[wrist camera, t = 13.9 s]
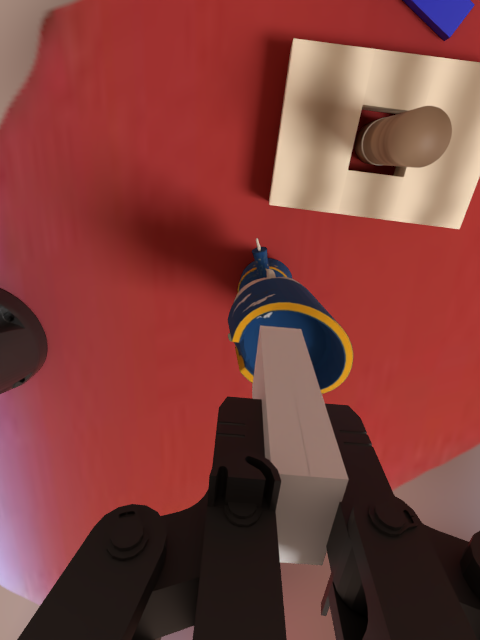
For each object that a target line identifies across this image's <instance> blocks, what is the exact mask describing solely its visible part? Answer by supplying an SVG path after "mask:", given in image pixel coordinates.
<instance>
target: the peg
mask: <svg viewBox="0 0 480 640" xmlns="http://www.w3.org/2000/svg"><path fill="white" fill-rule="evenodd" d="M451 136H452V125H451V121H450V118H449V117H448V115H447V114H446V113H445V112H444V111H443V110H442V109H440V108H438V107H435V106H423V107H420V108H416V109H413V110H410V111H406V112H403V113H400V114H396V115H393V116H390V117H385V118H381V119H378V120H376V121H373V122H370V123H368V124H366V125H365V126H364V127H363V128H362V129H361V130H360V131H359V133H358V134H357V137H356V140H355V152H356V155H357V156H358V158H359V159H360V160H361V161H362V162H364V163H367V164H374V165H388V166H401V167H413V168H420V167H425V166H428V165H430V164H432V163H434V162H435V161H437V160H438V159H439V158H440V157H441V156H442V155H443V154H444V152H445V151H446V149H447V147H448V145H449V143H450V140H451Z"/></svg>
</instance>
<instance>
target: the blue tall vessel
mask: <svg viewBox="0 0 480 640" xmlns="http://www.w3.org/2000/svg"><path fill="white" fill-rule="evenodd" d="M256 242H257V248H255V249H253V250H252V253H253V256H254V259H255V261H253V262H252V263H250V264H249V265H248V266H247V267H246V268H245V269H244V271H243V273H242V275H241V278H240V281H239V285H238V294H237V296H236V298H235V300H234V303H233V305H232V307H231V310H230V313H229V317H228V324H229V329H230V333H229V334H228V339H229V340H230V341H232V342H234V344H235V345H236V347H235V349H236V354H237V359H238V364H239V369H240V372H241V373H242V375H243V376H244V377H245V378H247V379H248V380H249V381H250V382H251V383H253V378H254V370H255V362H256V354H257V346H258V338H259V330H260V325H261V326H272V327H283V328H295V329H301V330H302V333H303V337H304V340H305V343H306V346H307V349H308V352H309V356H310V359H311V362H312V365H313V368H314V371H315V375H316V378H317V381H318V384H319V387H320V390H321V394H324V393H326V392H329V391H331V390H333V389H335V388H337V387H338V386H339V385H340V384H342V383H343V382H344V381H345V379H346V378H347V376H348V375H349V373H350V371H351V368H352V364H353V349H352V344H351V342H350V340H349V337H348V335H347V334H346V333H345V331H344V330H343V328H342V327H341V326H340V325H339V324H338V323H337V322H336V321H335V319H334V318H333V317H332V316H331V315H330V314H329V313H328V312H327V311H326V309H325V308H324V307H323V306H322V305H321V304H320V303H319V302H318V301H317V300H316V298H315V297H314V296H313V295H312V294H311V293H310V292H309V291H308V290H307V289H306V288H305V287H304V286H302V285H301V284H300V283H299V282H297V281H295V280H294V279H292V275H291V273H290V271H289V269H288V268H287V267H286V266H285V265H284V264H283V263H282V262H280V261H278V260H275V259H271V258H267V248H266V247H261V246H260V244H259V241H258V238H256Z"/></svg>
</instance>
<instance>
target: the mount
mask: <svg viewBox="0 0 480 640" xmlns="http://www.w3.org/2000/svg"><path fill="white" fill-rule="evenodd" d="M403 1H404V2H405V3H406V4H407V5H408V6H409V7H410V8H411V9H412V10H413V11H414V12H415V13H416V14H417V15H418V16H419V17H420V18H421V19H422V20H423V21H424V22H425V23H426V24H427V25H428V26H429V27H430V28H431V29H432V30H433V31H434V32H435V33H436V34H437V35H438V36H440V37H441V38H442V39H443V40H444V41H445V40H447V39H448V38H450V37H451V35H452V34H453V33H454V31H455V30H456V29H457V27H458V26H459V25H460V24H461V22H462V21H463V20H464V18H465V17H466V16H467V14H468V13H469V12H470V10H471V9H472V8H473V6H474V4H473V3H472V2H471V1H470V0H403Z"/></svg>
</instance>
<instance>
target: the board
mask: <svg viewBox="0 0 480 640" xmlns="http://www.w3.org/2000/svg"><path fill="white" fill-rule="evenodd" d="M423 106H435V107H438V108H440V109H442V110H443V111H444V112H445V113H446V114H447V115H448V117H449V118H450V121H451V125H452V136H451V140H450V143H449V145H448V147H447V149H446V151H445V152H444V154H443V155H442V156H441V157H440V158H439V159H438V160H437V161H435V162H434V163H432V164H430V165H428V166H425V167H420V168H413V167H401V166H396V168H395V172H394V175H393V176H391V175H384V174H376V173H368V172H360V171H353V170H348V167H349V163H350V158H351V154H352V149H353V145H354V141H355V136H356V132H357V128H358V123H359V119H360V114H361V110H369V111H377V112H385V113H392V114H400V113H403V112H406V111H410V110H413V109H416V108H420V107H423ZM479 176H480V63H479V62H472V61H464V60H456V59H449V58H441V57H433V56H425V55H418V54H410V53H402V52H395V51H387V50H379V49H371V48H364V47H356V46H348V45H340V44H333V43H325V42H317V41H310V40H302V39H293V42H292V46H291V50H290V57H289V64H288V71H287V78H286V85H285V92H284V99H283V106H282V113H281V120H280V127H279V134H278V141H277V148H276V154H275V161H274V168H273V175H272V182H271V189H270V196H269V205H275V206H283V207H290V208H298V209H306V210H314V211H322V212H329V213H337V214H345V215H353V216H361V217H368V218H376V219H384V220H392V221H400V222H407V223H415V224H423V225H431V226H439V227H446V228H454V229H460V227H461V224H462V221H463V219H464V216H465V213H466V211H467V208H468V206H469V203H470V200H471V198H472V195H473V192H474V190H475V187H476V184H477V182H478V179H479Z"/></svg>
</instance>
